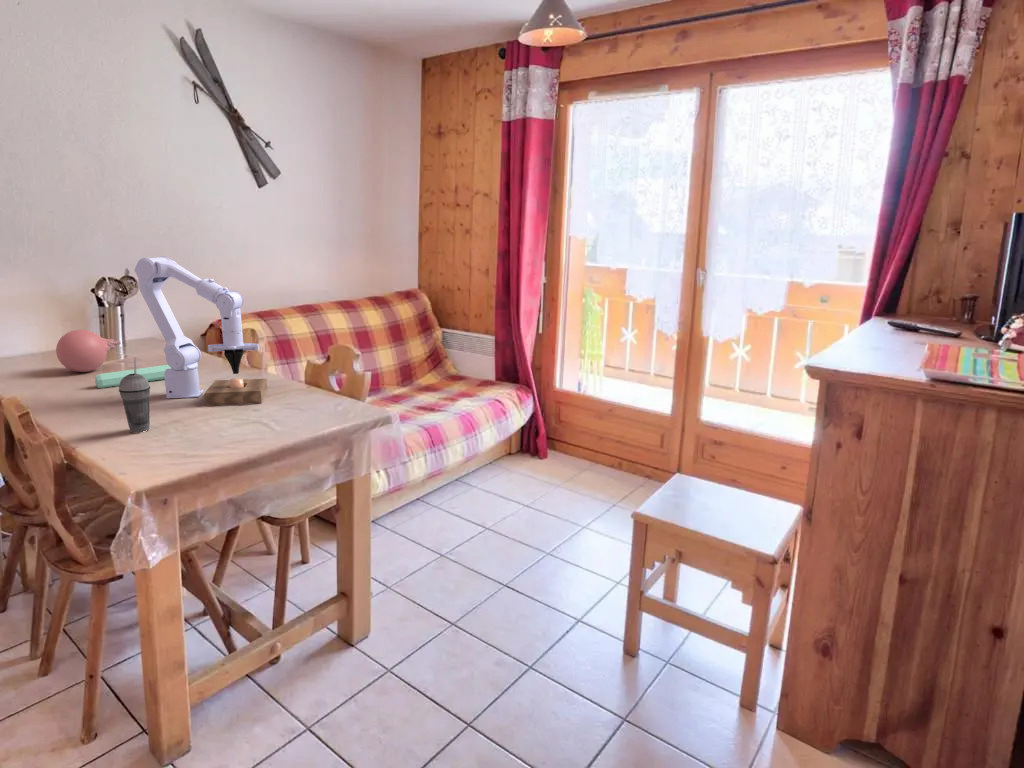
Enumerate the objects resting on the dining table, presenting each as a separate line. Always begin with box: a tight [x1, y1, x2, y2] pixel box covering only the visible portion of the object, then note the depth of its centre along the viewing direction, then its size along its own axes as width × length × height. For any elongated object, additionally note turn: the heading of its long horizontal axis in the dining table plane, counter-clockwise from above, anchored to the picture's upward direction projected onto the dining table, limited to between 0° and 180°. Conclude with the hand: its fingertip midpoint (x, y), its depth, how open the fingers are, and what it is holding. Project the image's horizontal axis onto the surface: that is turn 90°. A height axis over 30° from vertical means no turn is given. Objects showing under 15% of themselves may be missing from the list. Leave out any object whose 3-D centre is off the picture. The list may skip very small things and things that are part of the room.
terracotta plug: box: [229, 377, 244, 388], centre depth 204 cm, size 4×4×6 cm
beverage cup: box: [118, 357, 151, 433], centre depth 169 cm, size 7×7×20 cm
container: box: [94, 364, 171, 389], centre depth 220 cm, size 6×6×25 cm
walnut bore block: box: [204, 378, 269, 407], centre depth 204 cm, size 16×16×4 cm
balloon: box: [55, 329, 121, 373], centre depth 233 cm, size 15×20×15 cm
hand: (236, 373), depth 202 cm, fingers closed
